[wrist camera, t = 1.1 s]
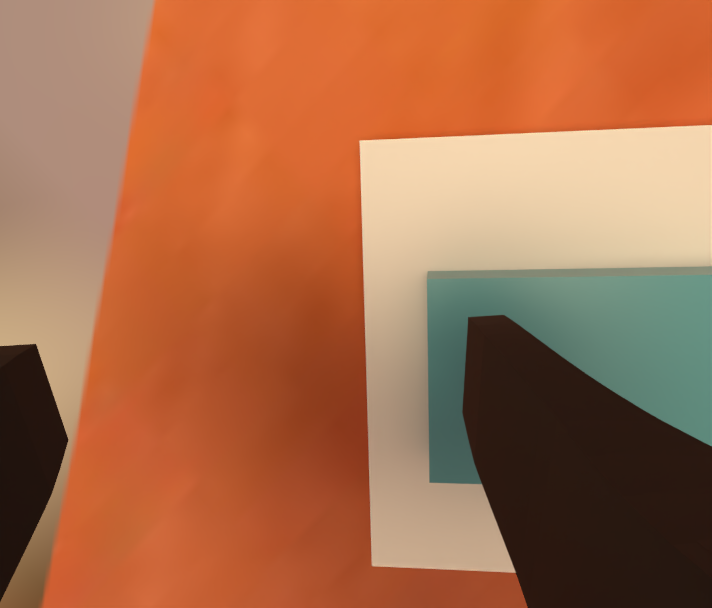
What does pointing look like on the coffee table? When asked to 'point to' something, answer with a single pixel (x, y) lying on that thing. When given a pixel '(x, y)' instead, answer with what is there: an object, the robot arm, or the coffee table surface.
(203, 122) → the coffee table surface
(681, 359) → the teal rectangular block
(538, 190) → the cream flat square slab
